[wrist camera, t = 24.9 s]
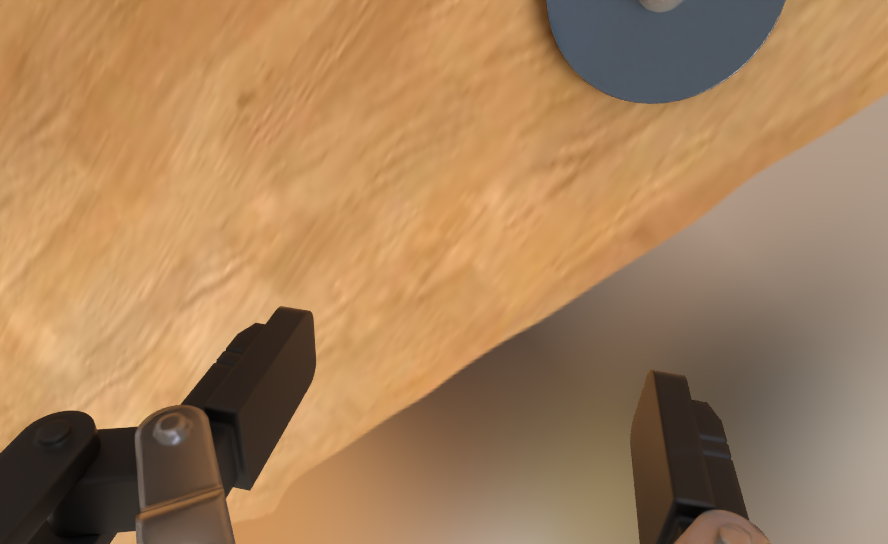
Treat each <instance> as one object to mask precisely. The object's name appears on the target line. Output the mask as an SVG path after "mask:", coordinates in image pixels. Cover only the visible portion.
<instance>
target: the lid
mask: <svg viewBox="0 0 888 544" xmlns="http://www.w3.org/2000/svg"><path fill="white" fill-rule="evenodd" d="M785 1H786V0H546V4H547V11H548V19H549V22H550V26H551V30H552V33H553V36H554V38H555V41H556V43H557V46H558V48H559V49H560V51H561V53H562V55H563V56H564V58H565V59H566V61H567V62H568V63H569V65H570V66H571V67H572V68H573V70H574V71H575V72H576V73H577V74H578V75H579V76H580V77H581V78H582V79H584V80H585V81H586V82H588V83H589V84H590V85H592V86H593V87H594V88H596V89H598V90H600V91H602V92H604V93H605V94H607V95H610V96H613V97H615V98H618V99H621V100H625V101H630V102H634V103H646V104H657V103H669V102H674V101H680V100H683V99H687V98H690V97H693V96H696V95H699V94H701V93H703V92H705V91H708V90H710V89H712V88H713V87H715V86H717V85H719V84H720V83H722V82H724V81H725V80H727V79H728V78H729V77H731V76H732V75H733V74H735V73H736V72H737V71H739V70H740V69H741V68H742V67H743V66H744V65H745V64H746V63H747V62H748V61H749V60H750V59H751V58H752V57H753V56H754V55H755V53H756V52H757V51H758V50H759V49H760V47H761V46H762V45H763V44H764V42H765V41H766V39H767V38H768V36H769V35H770V33H771V32H772V30H773V28H774V26H775V24H776V22H777V20H778V18H779V16H780V14H781V12H782V9H783V6H784V3H785Z"/></svg>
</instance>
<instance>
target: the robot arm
mask: <svg viewBox="0 0 888 544" xmlns="http://www.w3.org/2000/svg"><path fill="white" fill-rule="evenodd" d="M315 368H316V351H315V335H314V320H313V314H312V312H311V311H307V310H301V309H295V308H289V307H283V306H281V307H279V308H278V309H277V310H276V311H275V312H274V314H273V315H272V316H271V318H270V319H269V320H268V322H267V323H266V324H260V323H255V324H253V325H252V326H250V327H248V328H247V329H245V330H244V331H242V332H240V333H239V334H237V336H236V337H235V338H234V339H233V341H232V342H231V343H230V344H229V345H228V347H227V348H226V351H224V352H223V353H222V354H221V355H220V357H219V358H218V359H217V362H216V363H214V364H213V365H212V366H211V368H210V369H209V370H208V371H207V373H206V374H205V375H204V376H203V378H202V379H201V380H200V381H199V382H198V384H197V385H196V386H195V387H194V389H193V390H192V391H191V392H190V394H189V395H188V396H187V397H186V398H185V400H184V401H183V402H182V403H181V405H175V406H170V407H166V408H163V409H161V410H158V411H156V412H155V413H153V414H151V415H150V416H148V417H147V418H146V419H145V420H144V421H143V422H142V423H141V424H140V425H139V426H138V427H128V428H114V429H99V430H97V429H96V426H95V423H94V420H93V419H92V417H91V416H89V415H88V414H86V413H84V412H80V411H62V412H57V413H53V414H50V415H47V416H45V417H43V418H40V419H38V420H37V421H35V422H33V423H32V424H30V425H29V426H28V427H26V428H25V429H24V430H23V431H22V432H21V433H20V434H19V435H18V436H17V437H16V438H15V439H14V440H13V441H12V442H11V443H10V444H9V445H8V446H7V447H6V448H5V449H4V450H3V451H2V452H1V453H0V544H110V543H111V541H112V540H113V538H114V537H115V535H116V534H117V532H128V531H136V538H137V544H235V540H234V535H233V531H232V526H231V521H230V516H229V512H228V507H227V502H226V497H227V496H228V494H229V493H230V491H231V489H232V488H233V487H235V488H240V489H245V490H249V491H250V490H251V488H252V486H253V485H254V483H255V481H256V479H257V478H258V476H259V474H260V472H261V471H262V469H263V467H264V465H265V464H266V462H267V460H268V458H269V457H270V455H271V453H272V451H273V450H274V448H275V446H276V444H277V443H278V441H279V439H280V437H281V436H282V434H283V432H284V430H285V429H286V427H287V425H288V423H289V422H290V420H291V418H292V416H293V415H294V413H295V411H296V409H297V407H298V406H299V404H300V402H301V400H302V399H303V397H304V395H305V393H306V392H307V390H308V388H309V386H310V384H311V382H312V380H313V377H314V373H315ZM630 442H631V456H632V465H633V476H634V487H635V496H636V497H635V498H636V508H637V518H638V529H639V540H640V544H771V543H770V541H769V540H768V538H767V537H766V536H765V534H764V533H763V532H762V531H761V530H760V529H759V528H758V527H757V526H756V525H754V524H753V523H751V522H750V521H749V518H748V514H747V511H746V507H745V504H744V500H743V496H742V493H741V489H740V486H739V482H738V479H737V475H736V471H735V468H734V464H733V461H732V460H731V453H730V450H729V446H728V444H727V443H726V442H727V439H726V436H725V432H724V428H723V425H722V422H721V420H720V419H719V417H718V416H717V415H716V414H715V412H714V411H713V410H712V408H711V407H710V406H709V405H708V403H706V402H700V401H695V400H691V396H690V391H689V387H688V383H687V379H686V377H685V376H684V375H678V374H672V373H667V372H660V371H655V370H650V371H649V373H648V375H647V378H646V381H645V384H644V387H643V390H642V393H641V396H640V399H639V402H638V405H637V409H636V412H635V415H634V418H633V422H632V429H631V441H630Z"/></svg>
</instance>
